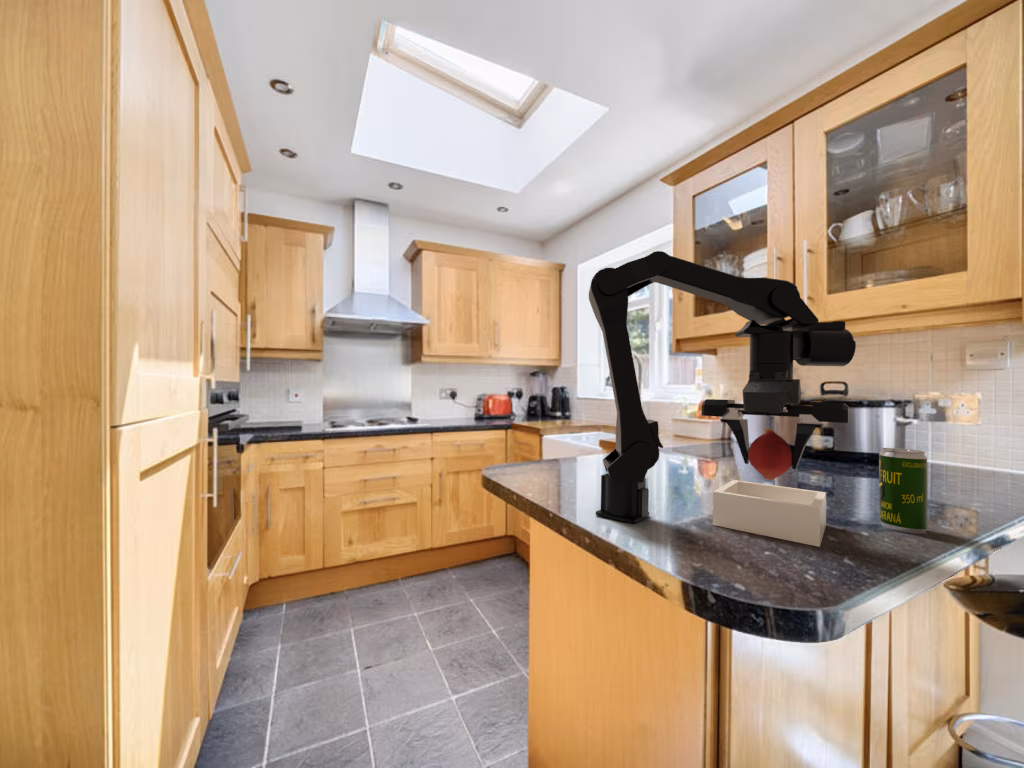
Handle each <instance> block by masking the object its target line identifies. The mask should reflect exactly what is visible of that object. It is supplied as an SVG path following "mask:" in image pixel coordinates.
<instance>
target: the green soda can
mask: <svg viewBox="0 0 1024 768" xmlns="http://www.w3.org/2000/svg"><path fill="white" fill-rule="evenodd" d="M925 453H926V451H924V450H918V449H912V448H911V449H910V448H909V449H908V448H898V447H897V448H896V447H881V448H880V452H879V454H878V467H879V468H878V485H879V486H878V491H879V493H878V494H879V495H878V497H879V499H878V505H879V507H878V508H879V509H878V510H879V512H878V514H879V515H878V516H879V522H880V524H881V526H882V527H883V528H886V529H888V530H892V531H896V532H899V533H907V534H915V535H918V534H919V535H920V534H925V533H926V531H928V527H929V526H928V523H929V522H928V520H929V519H928V517H929V516H928V458H927V456H926V455H925Z"/></svg>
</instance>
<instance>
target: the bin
mask: <svg viewBox="0 0 1024 768" xmlns="http://www.w3.org/2000/svg"><path fill="white" fill-rule="evenodd" d="M712 525H713V526H716V527H722V528H726V529H732V530H736V531H741V532H746V533H752V534H756V535H760V536H765V537H771V538H776V539H780V540H784V541H785V540H786V541H790V542H795V543H800V544H804V545H808V546H812V547H813V546H815V547H819V548H820V547H821V545H822V541H823V538H824V537H823V536H824V533H825V530H826V527H827V492H825V491H820V490H812V489H811V490H810V489H803V488H795V487H789V486H781V485H775V484H767V483H760V482H754V481H753V482H752V481H751V482H750V481H745V480H737V479H732V480H731V481H729V482H726V483H725V484H724V485H722V486H720V487H719V488H717V489H715V490H714V491H713V492H712Z"/></svg>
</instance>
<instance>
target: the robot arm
mask: <svg viewBox="0 0 1024 768" xmlns="http://www.w3.org/2000/svg"><path fill="white" fill-rule="evenodd" d="M653 283H656V284H661V285H663V286H666V287H669V288H672V289H676V290H678V291H682V292H685V293H688V294H691V295H695V296H697V297H701V298H703V299H707V300H710V301H714V302H716V303H720V304H723V305H724V306H726V307H728V308H729V309H731V310H732V311H733V312H734V313H735V314H736V315H738V316H740V317H742V318H744V319H745V320H747V321H746V322H745V324H744V326H743V327H742V328H740V329H739V330H738V331H737V332H735V333H734V334H735V337H736V338H749V373H748V380H747V383H746V384H745V386H744V387H743V389H742V390H741V391H742V401H743V403H736V400H735V399H713V398H712V399H710V398H706V399H704V401H702V403H701V416H703V417H721V418H720V419H719V421H720V423H726V424H727V426H728V427H729V428H730V430H731V432H732V434H733V435H734V438H735V440H736V443H737V445H738V447H739V451H740V454H741V457H742V459H743V462H744V464H745V465H748V464H749V463H750V461H749V459H748V451H749V448H750V440H749V439H750V438H749V423H748V422H749V421H748V419H747V418H744V417H745V415H747V416H768V417H769V416H770V417H771V416H772V417H789V418H790V417H791V418H792V417H793V418H799V420H800V422H798V423H796V432H795V433H796V434H795V439H794V446H793V450H792V453H793V458H792V465H791V468H792V470H797V469H798V466H799V463H800V462H801V461H800V460H801V458H802V456H803V453H804V450H805V448H806V446H807V444H808V442H809V440H810V438H811V437H812V435H813V433H814V431H815V430H816V429H823V428H825V423H840V424H848V423H849V422H850V410H849V409H850V407H849V406H848V405H847V404H846V403H844V402H838V401H837V402H836V401H835V402H831V401H829V402H828V401H812V405H799V404H801V403H800V402H801V400H802V388H801V379H799V378H797V379H796V378H794V361H795V362H796V363H797V365H799V366H805V367H807V366H808V367H845V366H847V365H848V364H850V362H851V361H852V360H853V358H854V356H855V353H856V348H857V343H856V340H855V339H854V336H853V334H852V333H851V332H850V331H849V329H847V328H846V321H843V320H835V321H829V322H827V321H826V322H825V321H824V322H819V321H820V320H819V317H817V316H816V314H814V312H813V311H812V309H810V308H809V306H808V305H807V303H806V302H805V301H804V300H803V299H802V297H801V293H800V291H799V290H798V286H797V285H796V284H794V283H793V282H791V281H789V280H786V279H780V278H779V279H776V278H769V277H743V276H738V275H734V274H731V273H728V272H724V271H721V270H718V269H714V268H711V267H708V266H705V265H702V264H699V263H695V262H692V261H688V260H685V259H682V258H679V257H676V256H672V255H670V254H668V253H667V252H665V251H659V250H656V251H652V253H650V254H648V255H645V256H644V257H640V258H637V259H634V260H631V261H627V262H626V263H623V264H621V265H620V266H617V267H615V268H614V267H605V268H602V269H600V270H598V271H597V272H596V273H595V274H594V275H593V277H592V279H591V282H590V287H589V290H588V301H589V303H590V307H591V308H592V312H593V314H594V316H595V319H596V321H597V323H598V326H599V327H600V329H601V332H602V336H603V342H604V347H605V353H606V359H607V363H608V371H609V377H610V381H611V387H612V388H611V389H612V393H613V399H614V404H615V409H616V421H615V447H614V449H613V450H612V451H611V452H609V453H608V454H607V455H606V456H605V457H604V458H603V459H602V463H603V467H604V469H605V472H606V473H603V474H601V476H600V509H598V510H595V515H596V516H599V517H603V518H606V519H607V518H608V519H611V520H617V521H620V522H626V523H630V524H635V523H637V522H639V521H641V520H643V519H644V518H647V517H649V516H650V511H649V497H650V496H649V495H650V494H649V491H650V490H649V488H648V487H646V485H647V478H646V477H647V473H648V470H650V469H652V468H653V467H654V466H655V465H656V464H657V463H658V461H659V459H660V449H663V448H664V446H663V443H662V442H661V440H660V435H659V423H658V421H657V420H653V419H650V418H649V419H648V418H647V416H646V414H645V413H644V409H643V406H642V401H641V395H640V390H639V385H638V379H637V372H636V369H635V362H634V357H633V353H632V352H633V351H632V346H631V341H630V335H629V330H628V324H627V323H628V313H629V311H628V310H629V297H630V296H633V295H634V294H635V293H638V292H639V291H641V290H642V289H644V288H646V287H648V286H650V285H652V284H653ZM786 318H789V319H786ZM784 408H785V409H784Z"/></svg>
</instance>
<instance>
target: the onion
mask: <svg viewBox="0 0 1024 768" xmlns="http://www.w3.org/2000/svg"><path fill="white" fill-rule="evenodd" d="M792 458H793V450H792V449H791V446H790V444H789V443H788V442H787V441H786V440H785V439H784V438H782V436H780V435H778V434H777V433H776V432H775V431H774V430H773V429H772V428H771V427H765V428H764V433H763V434H761V435H759V436H758V437H757V438H756V439H754V440H753V441H752V443H751V444H750V445H749V451H748V459H749V463H750V466H752V467H753V469H755V470H756V471H757V472H758V473H759V474H760V475H761V476H762V477H763V478H765V480H767V481H773V480H775V479H776V478H778V477H780V476H782V475H784V474H785V473H787V471H789V470H790V468H792Z"/></svg>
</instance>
